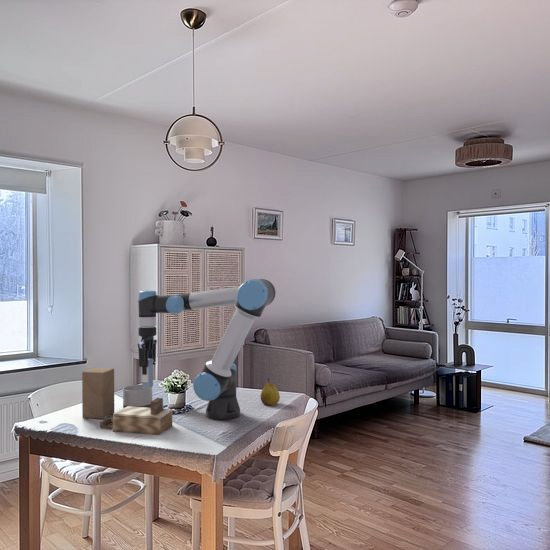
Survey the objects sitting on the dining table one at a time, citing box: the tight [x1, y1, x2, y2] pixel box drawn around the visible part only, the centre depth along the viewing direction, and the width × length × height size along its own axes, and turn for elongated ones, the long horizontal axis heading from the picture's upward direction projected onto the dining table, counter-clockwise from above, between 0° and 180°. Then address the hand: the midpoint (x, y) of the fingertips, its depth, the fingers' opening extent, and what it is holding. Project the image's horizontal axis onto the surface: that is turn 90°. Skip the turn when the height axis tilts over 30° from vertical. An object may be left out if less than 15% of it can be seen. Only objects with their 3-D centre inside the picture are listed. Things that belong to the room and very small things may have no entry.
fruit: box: [260, 378, 281, 407], centre depth 248 cm, size 9×9×12 cm
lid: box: [112, 397, 173, 419], centre depth 210 cm, size 20×11×6 cm, turn 77°
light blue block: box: [141, 358, 155, 388], centre depth 225 cm, size 5×3×12 cm, turn 77°
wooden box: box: [112, 411, 173, 436], centre depth 210 cm, size 20×12×6 cm, turn 77°
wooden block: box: [81, 367, 115, 420], centre depth 229 cm, size 10×10×20 cm
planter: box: [122, 384, 153, 409], centre depth 237 cm, size 13×13×10 cm
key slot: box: [99, 416, 113, 430], centre depth 213 cm, size 7×7×2 cm
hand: (147, 380), depth 225 cm, fingers closed on light blue block, 3 cm apart
